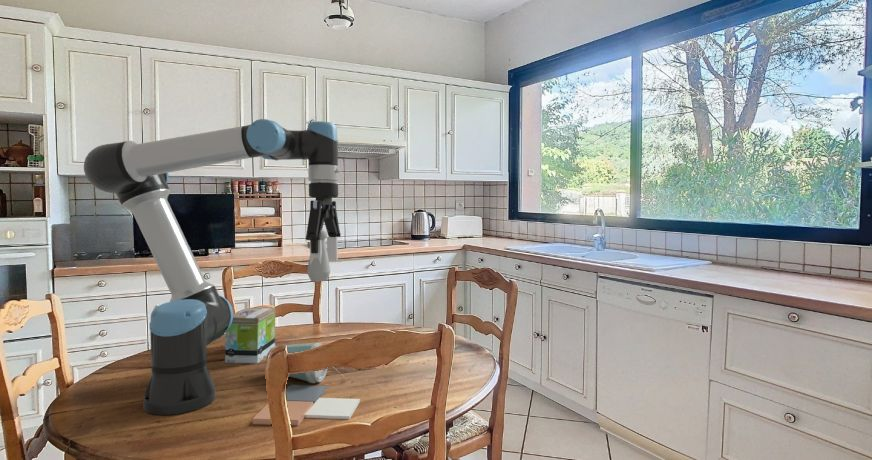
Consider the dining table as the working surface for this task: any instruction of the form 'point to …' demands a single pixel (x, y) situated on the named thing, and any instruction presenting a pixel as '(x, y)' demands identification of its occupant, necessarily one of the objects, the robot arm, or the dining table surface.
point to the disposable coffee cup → (308, 376)
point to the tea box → (250, 335)
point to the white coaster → (333, 408)
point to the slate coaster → (305, 393)
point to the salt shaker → (316, 269)
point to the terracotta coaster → (295, 411)
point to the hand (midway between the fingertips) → (324, 263)
